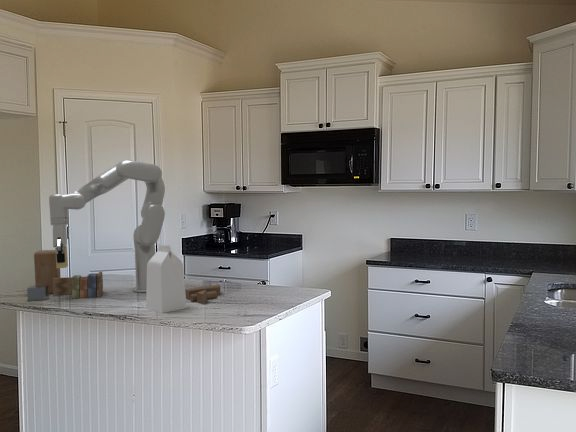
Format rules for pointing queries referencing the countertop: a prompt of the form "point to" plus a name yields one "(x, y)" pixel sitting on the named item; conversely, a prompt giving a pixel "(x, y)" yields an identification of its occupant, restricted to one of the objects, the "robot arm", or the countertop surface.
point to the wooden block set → (202, 293)
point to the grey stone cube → (38, 292)
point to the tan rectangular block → (65, 264)
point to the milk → (165, 282)
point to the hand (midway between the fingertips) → (62, 261)
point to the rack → (79, 286)
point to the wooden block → (46, 268)
